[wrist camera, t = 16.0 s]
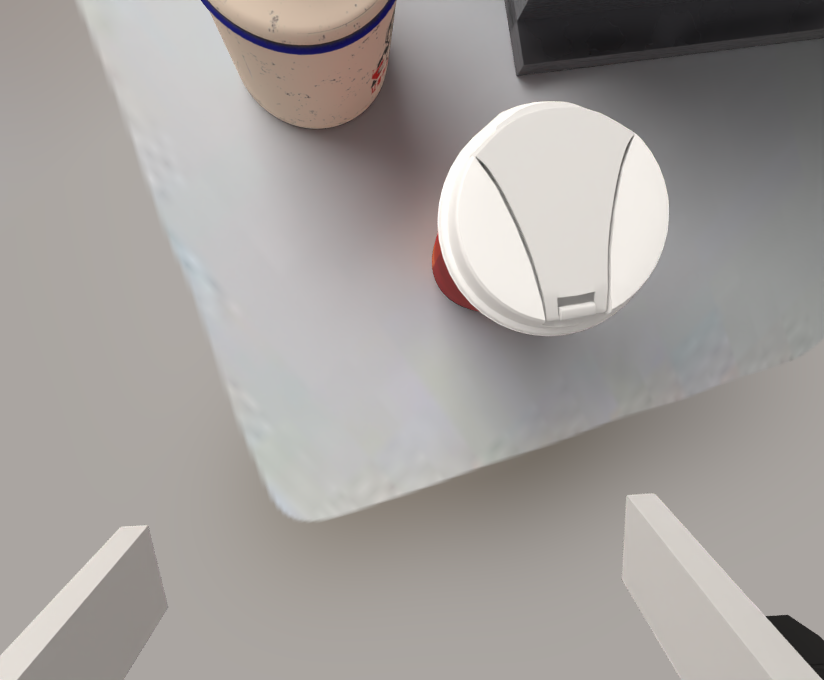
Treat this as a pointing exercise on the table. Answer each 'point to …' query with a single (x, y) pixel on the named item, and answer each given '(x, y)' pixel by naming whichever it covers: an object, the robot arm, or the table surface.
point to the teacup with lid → (308, 54)
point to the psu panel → (649, 29)
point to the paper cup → (550, 219)
